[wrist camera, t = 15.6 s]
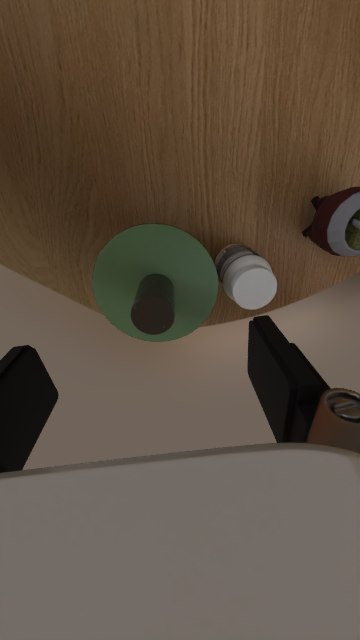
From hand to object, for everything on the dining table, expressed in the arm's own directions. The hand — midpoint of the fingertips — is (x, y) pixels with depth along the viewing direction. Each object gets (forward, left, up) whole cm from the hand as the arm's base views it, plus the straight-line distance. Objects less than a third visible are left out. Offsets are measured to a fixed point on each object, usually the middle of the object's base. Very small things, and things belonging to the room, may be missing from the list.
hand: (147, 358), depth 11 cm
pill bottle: (+8, +6, -25) cm, 27 cm away
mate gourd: (+10, +18, -25) cm, 32 cm away
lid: (+2, -2, -15) cm, 15 cm away
